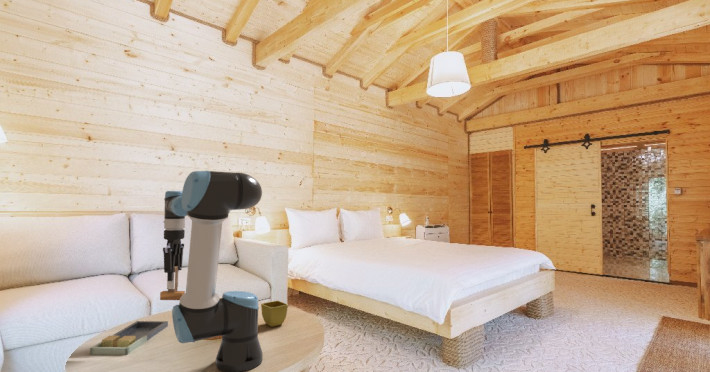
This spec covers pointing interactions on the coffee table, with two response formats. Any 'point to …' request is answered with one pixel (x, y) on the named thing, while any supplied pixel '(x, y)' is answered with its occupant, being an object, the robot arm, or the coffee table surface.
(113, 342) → the tan cube
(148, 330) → the dark grey shallow tray
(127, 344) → the light brown cube
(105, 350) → the tray
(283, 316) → the flower pot
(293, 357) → the coffee table surface
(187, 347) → the coffee table surface
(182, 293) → the bent wooden stick
